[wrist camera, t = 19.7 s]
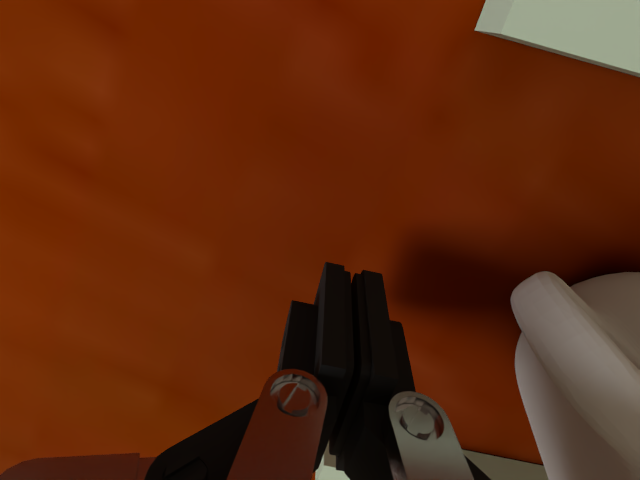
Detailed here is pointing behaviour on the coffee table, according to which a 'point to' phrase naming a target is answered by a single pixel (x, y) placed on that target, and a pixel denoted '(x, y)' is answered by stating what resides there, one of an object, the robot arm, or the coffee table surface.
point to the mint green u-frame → (568, 40)
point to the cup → (581, 373)
